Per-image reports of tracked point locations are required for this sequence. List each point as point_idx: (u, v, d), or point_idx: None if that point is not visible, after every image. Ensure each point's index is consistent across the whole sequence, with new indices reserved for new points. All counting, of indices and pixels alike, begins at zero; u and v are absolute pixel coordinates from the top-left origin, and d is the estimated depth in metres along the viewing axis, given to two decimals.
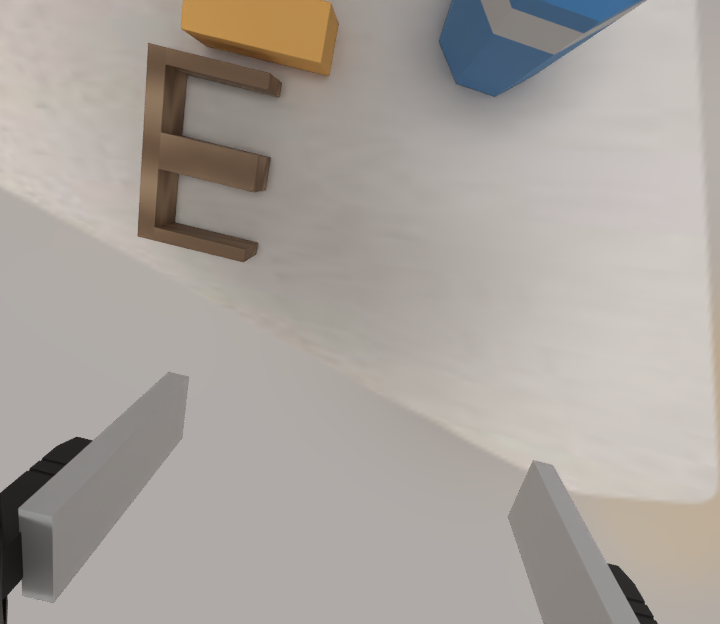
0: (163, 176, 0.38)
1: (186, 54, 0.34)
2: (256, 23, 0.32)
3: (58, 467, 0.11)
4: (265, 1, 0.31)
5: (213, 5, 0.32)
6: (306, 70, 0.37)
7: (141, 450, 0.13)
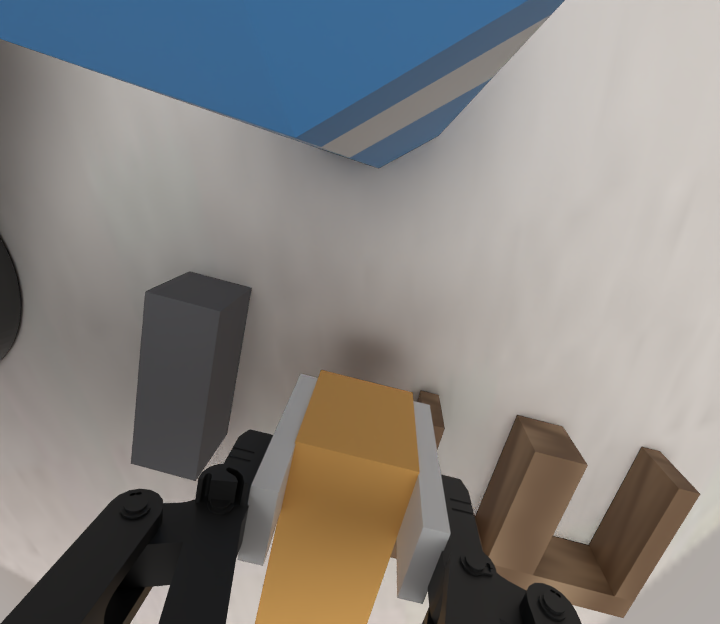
0: (538, 564, 0.27)
1: None
2: (336, 580, 0.15)
3: (249, 454, 0.13)
4: (296, 561, 0.15)
5: None
6: None
7: None
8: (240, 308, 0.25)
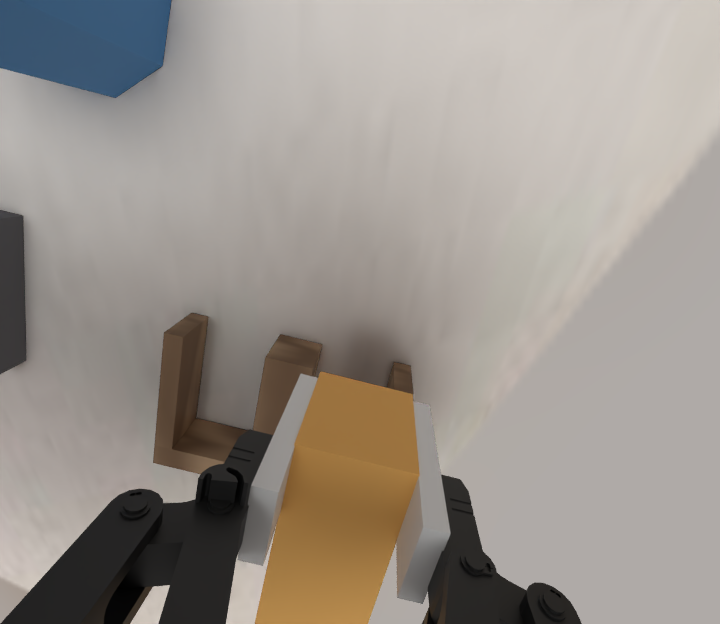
0: None
1: (158, 425, 0.28)
2: (335, 583, 0.15)
3: (249, 454, 0.13)
4: (295, 564, 0.15)
5: None
6: None
7: None
8: (3, 232, 0.27)
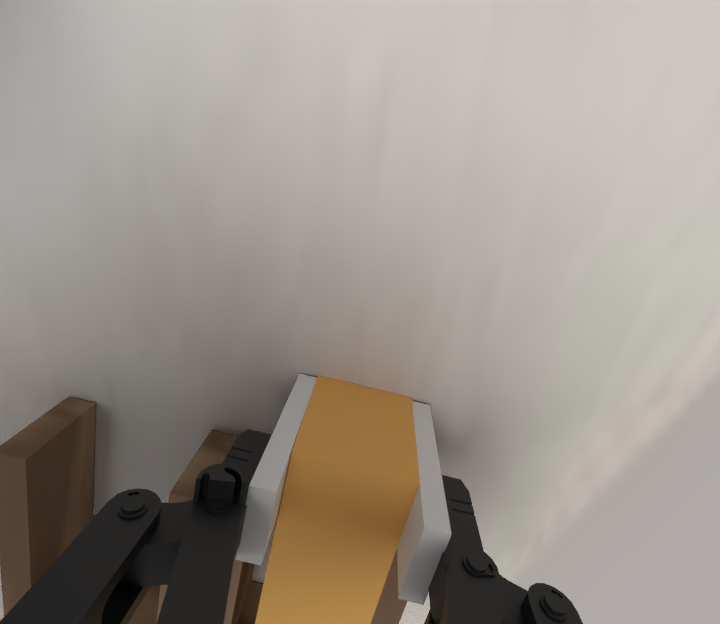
0: None
1: (5, 588, 0.17)
2: (335, 591, 0.15)
3: (247, 454, 0.13)
4: (293, 572, 0.14)
5: None
6: None
7: None
8: None
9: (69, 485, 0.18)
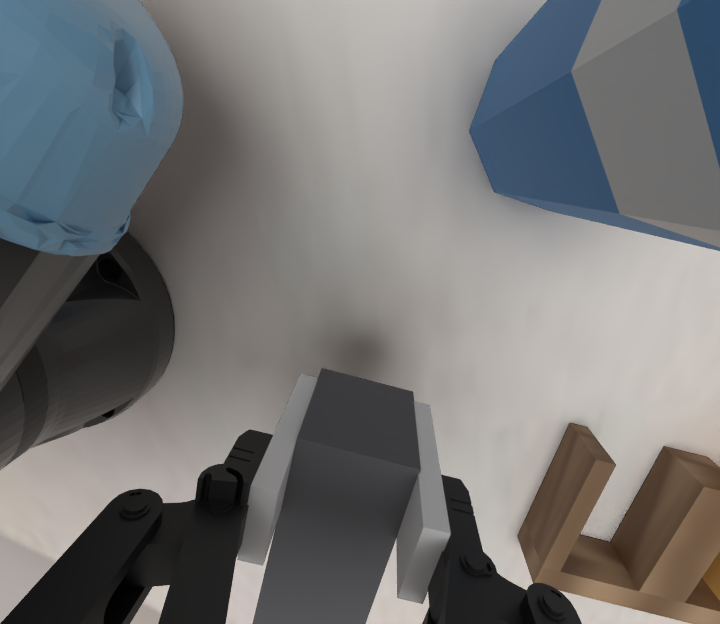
0: None
1: (553, 548, 0.26)
2: None
3: (248, 454, 0.13)
4: None
5: None
6: None
7: None
8: None
9: None
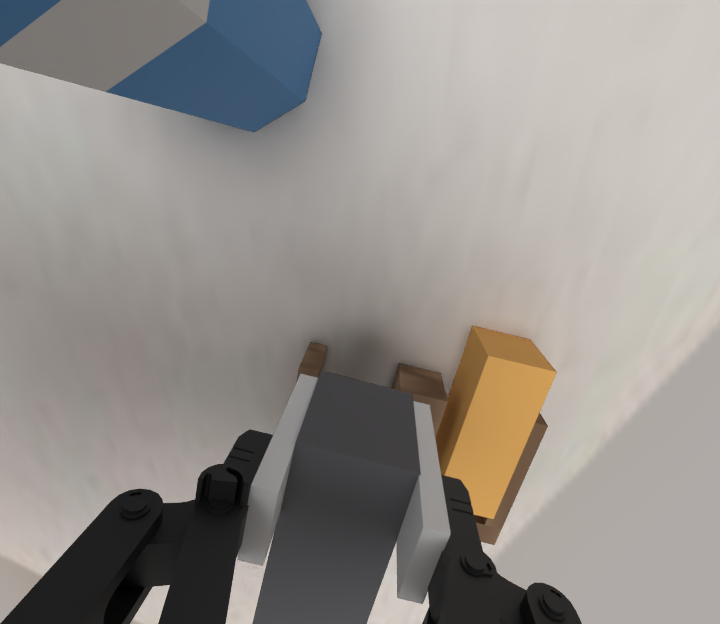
0: None
1: None
2: (499, 441, 0.26)
3: (249, 454, 0.13)
4: (477, 430, 0.25)
5: (474, 484, 0.27)
6: None
7: None
8: None
9: None
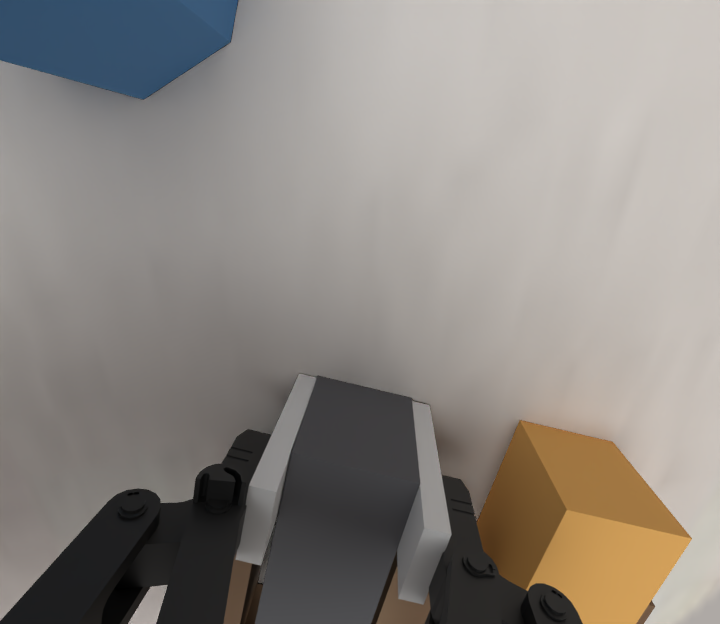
0: None
1: None
2: None
3: (247, 454, 0.13)
4: None
5: None
6: None
7: None
8: None
9: None
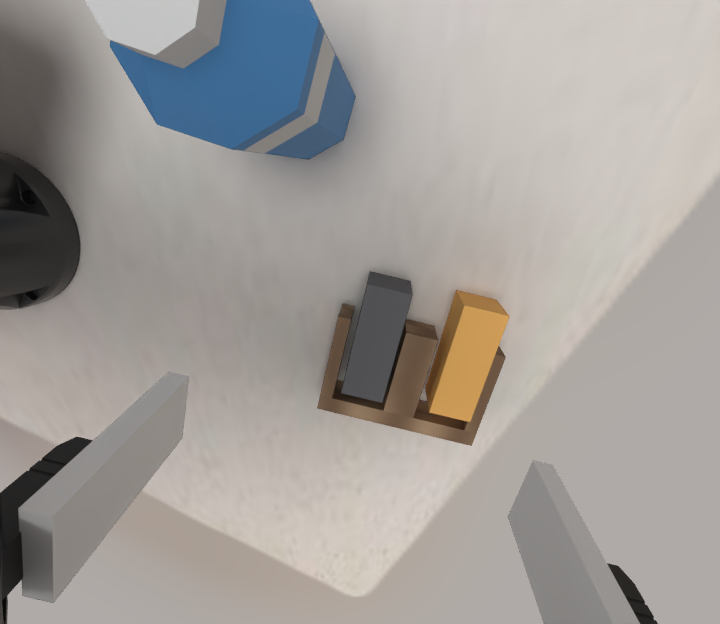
0: (419, 414, 0.42)
1: (324, 381, 0.41)
2: (473, 365, 0.38)
3: (58, 467, 0.11)
4: (458, 357, 0.38)
5: (457, 396, 0.39)
6: None
7: (141, 450, 0.13)
8: None
9: None
